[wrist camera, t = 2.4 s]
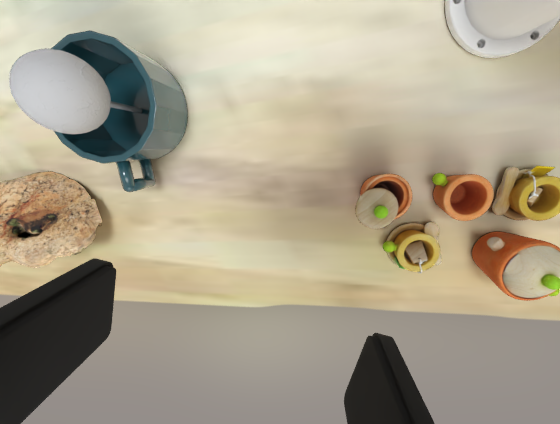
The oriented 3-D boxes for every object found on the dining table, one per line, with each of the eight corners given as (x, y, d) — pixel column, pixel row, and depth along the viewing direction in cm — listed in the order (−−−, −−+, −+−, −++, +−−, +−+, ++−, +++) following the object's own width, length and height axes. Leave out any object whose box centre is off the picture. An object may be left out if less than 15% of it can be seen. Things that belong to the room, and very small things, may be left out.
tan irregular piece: (99, 165, 44) (71, 149, 37) (128, 243, 44) (106, 242, 36) (-20, 202, 41) (-78, 193, 33) (9, 288, 40) (-43, 298, 32)
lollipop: (104, 104, 35) (-35, 76, 21) (140, 69, 34) (17, 12, 19) (139, 148, 36) (31, 149, 22) (175, 116, 35) (85, 94, 20)
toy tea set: (562, 165, 33) (666, 173, 23) (530, 276, 36) (608, 321, 27) (352, 160, 35) (370, 165, 25) (342, 266, 38) (355, 304, 29)
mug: (84, 66, 34) (22, 43, 27) (176, 50, 33) (138, 21, 25) (118, 189, 38) (71, 199, 31) (201, 179, 37) (174, 188, 29)
